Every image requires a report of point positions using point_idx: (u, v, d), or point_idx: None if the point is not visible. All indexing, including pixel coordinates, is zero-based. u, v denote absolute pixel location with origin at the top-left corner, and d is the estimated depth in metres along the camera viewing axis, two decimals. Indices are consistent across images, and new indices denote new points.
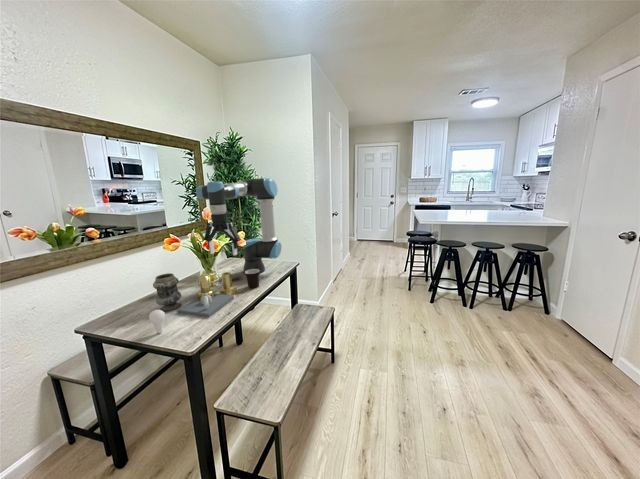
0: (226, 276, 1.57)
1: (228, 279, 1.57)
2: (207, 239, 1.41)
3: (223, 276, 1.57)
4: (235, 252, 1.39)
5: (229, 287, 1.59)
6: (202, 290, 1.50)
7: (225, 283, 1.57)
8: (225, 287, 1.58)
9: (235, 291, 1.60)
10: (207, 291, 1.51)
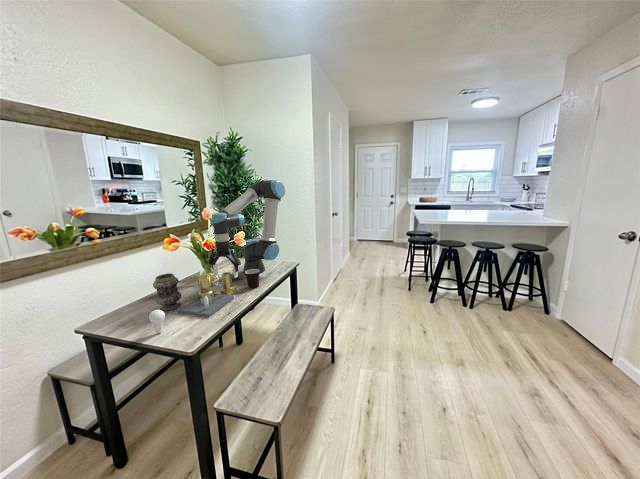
0: (226, 276, 1.57)
1: (228, 279, 1.57)
2: (211, 263, 1.58)
3: (223, 276, 1.57)
4: (236, 275, 1.56)
5: (229, 287, 1.59)
6: (202, 290, 1.50)
7: (225, 283, 1.57)
8: (225, 287, 1.58)
9: (235, 291, 1.60)
10: (207, 291, 1.51)
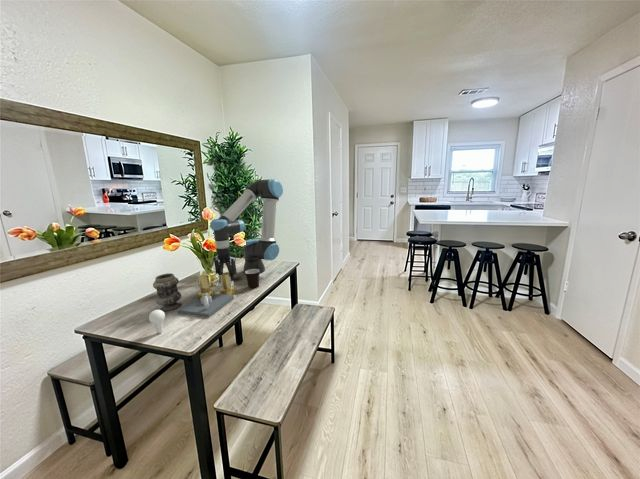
0: (226, 276, 1.57)
1: (228, 279, 1.57)
2: (218, 273, 1.59)
3: (223, 276, 1.57)
4: (232, 284, 1.59)
5: (229, 287, 1.59)
6: (202, 290, 1.50)
7: (225, 283, 1.57)
8: (225, 287, 1.58)
9: (235, 291, 1.60)
10: (207, 291, 1.51)
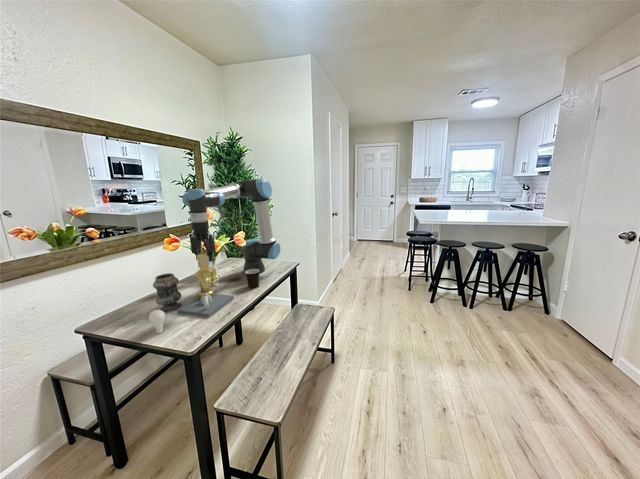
0: (203, 255, 1.34)
1: (206, 259, 1.35)
2: (195, 252, 1.36)
3: (200, 255, 1.34)
4: (210, 265, 1.36)
5: (207, 269, 1.36)
6: (202, 290, 1.50)
7: (202, 264, 1.35)
8: (202, 269, 1.35)
9: (214, 274, 1.37)
10: (207, 291, 1.51)
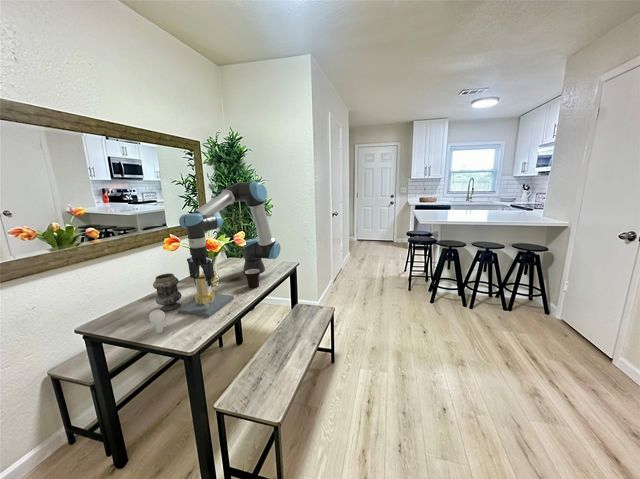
0: (202, 280, 1.32)
1: (204, 284, 1.33)
2: (193, 277, 1.34)
3: (198, 280, 1.32)
4: (209, 289, 1.35)
5: (206, 293, 1.34)
6: None
7: (201, 289, 1.33)
8: (201, 293, 1.34)
9: (213, 298, 1.36)
10: None
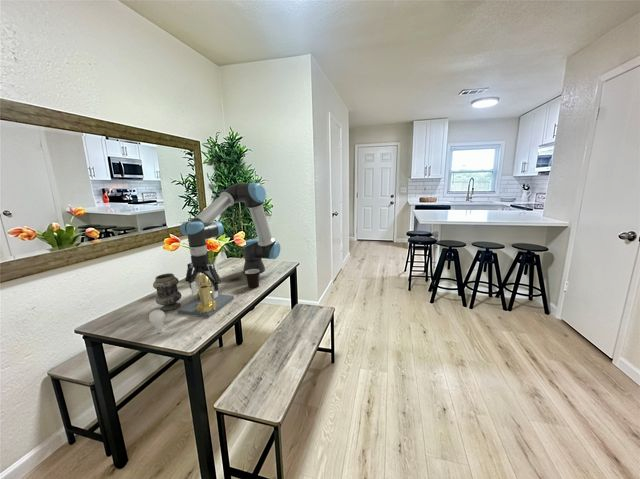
0: (203, 290, 1.33)
1: (206, 293, 1.34)
2: (189, 280, 1.36)
3: (200, 290, 1.33)
4: (216, 294, 1.34)
5: (207, 303, 1.35)
6: None
7: (202, 298, 1.34)
8: (202, 303, 1.35)
9: None
10: None
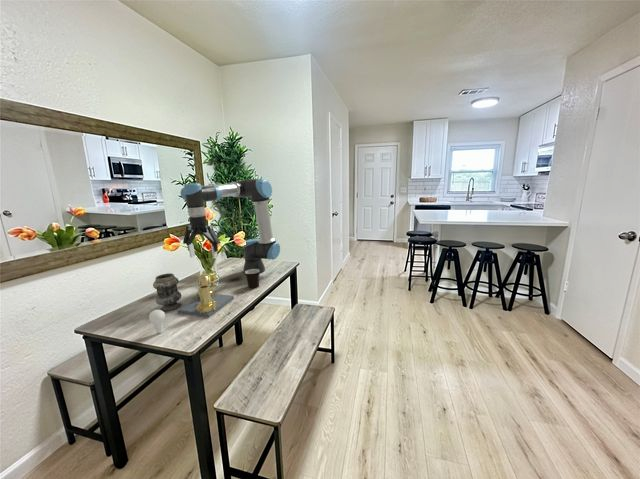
0: (203, 290, 1.33)
1: (206, 293, 1.34)
2: (186, 242, 1.38)
3: (200, 290, 1.33)
4: (215, 255, 1.36)
5: (207, 303, 1.35)
6: None
7: (202, 298, 1.34)
8: (202, 303, 1.35)
9: None
10: None
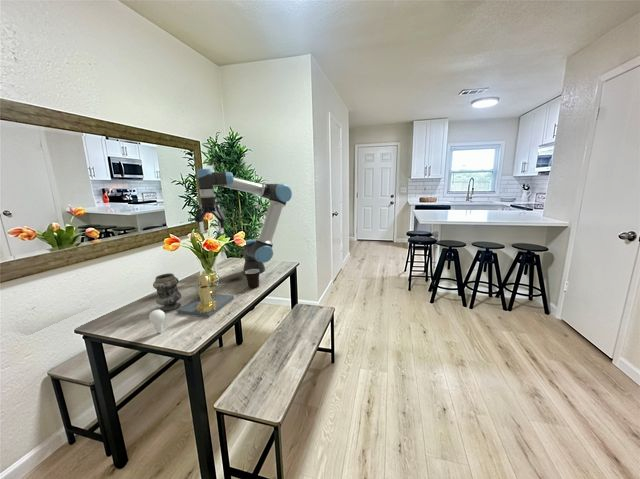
0: (203, 290, 1.33)
1: (206, 293, 1.34)
2: (197, 220, 1.60)
3: (200, 290, 1.33)
4: (222, 231, 1.58)
5: (207, 303, 1.35)
6: None
7: (202, 298, 1.34)
8: (202, 303, 1.35)
9: None
10: None
